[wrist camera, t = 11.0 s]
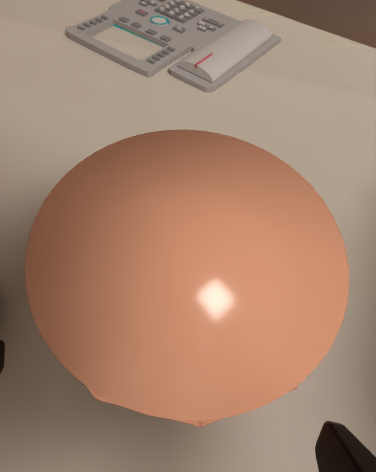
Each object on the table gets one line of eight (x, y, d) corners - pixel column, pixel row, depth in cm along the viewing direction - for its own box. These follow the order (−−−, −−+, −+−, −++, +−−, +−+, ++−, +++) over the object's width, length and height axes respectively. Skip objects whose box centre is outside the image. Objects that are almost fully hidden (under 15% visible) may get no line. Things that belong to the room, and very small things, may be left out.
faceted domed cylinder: (179, 435, 14) (211, 554, 4) (93, 337, 17) (-43, 233, 6) (257, 331, 18) (398, 231, 7) (175, 259, 20) (183, 99, 9)
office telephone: (286, 26, 37) (205, 89, 28) (279, 47, 39) (202, 111, 30) (154, -25, 42) (52, 14, 34) (155, -4, 45) (59, 37, 36)
